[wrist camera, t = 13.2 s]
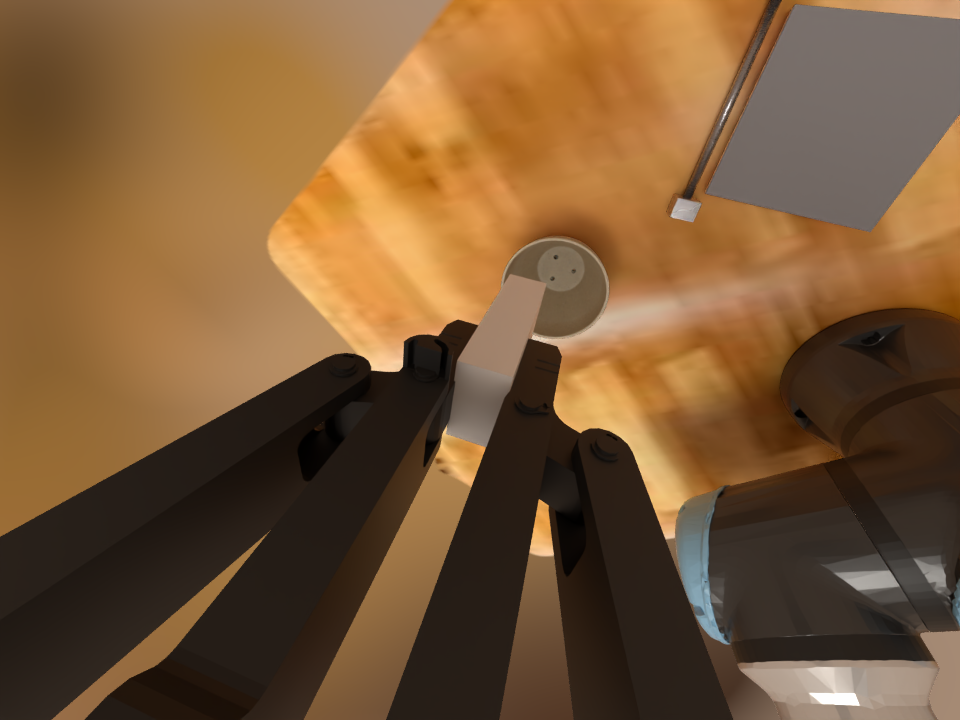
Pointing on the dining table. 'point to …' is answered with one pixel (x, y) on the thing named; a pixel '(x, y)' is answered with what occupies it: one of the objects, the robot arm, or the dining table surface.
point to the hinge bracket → (721, 122)
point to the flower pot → (563, 284)
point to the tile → (843, 114)
